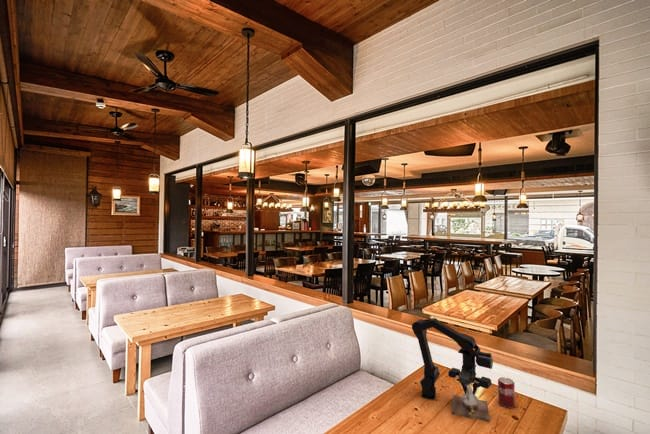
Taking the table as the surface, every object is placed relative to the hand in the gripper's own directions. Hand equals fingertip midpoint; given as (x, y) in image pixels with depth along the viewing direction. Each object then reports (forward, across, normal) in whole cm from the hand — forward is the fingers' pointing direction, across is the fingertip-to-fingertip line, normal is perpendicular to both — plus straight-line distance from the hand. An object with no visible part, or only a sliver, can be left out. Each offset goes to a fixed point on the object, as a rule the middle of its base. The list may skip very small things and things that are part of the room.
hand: (469, 394), depth 157 cm
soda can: (+7, +12, +16) cm, 21 cm away
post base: (+7, 0, 0) cm, 7 cm away
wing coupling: (+5, 0, 0) cm, 5 cm away
